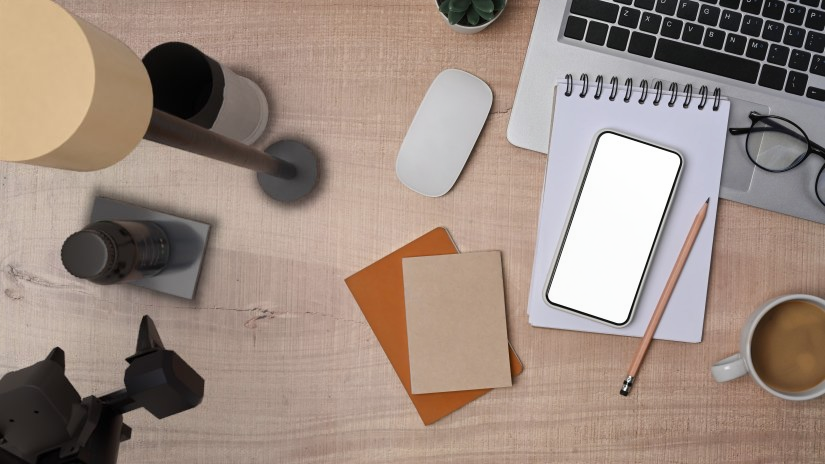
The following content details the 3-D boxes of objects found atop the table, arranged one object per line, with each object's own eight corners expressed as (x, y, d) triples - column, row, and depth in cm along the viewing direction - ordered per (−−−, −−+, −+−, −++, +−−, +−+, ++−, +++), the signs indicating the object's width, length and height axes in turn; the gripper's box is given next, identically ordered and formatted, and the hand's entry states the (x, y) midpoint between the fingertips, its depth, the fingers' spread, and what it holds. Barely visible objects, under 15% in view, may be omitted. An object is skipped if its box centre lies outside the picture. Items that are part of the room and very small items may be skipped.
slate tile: (193, 299, 71) (191, 300, 70) (80, 270, 72) (77, 270, 71) (211, 224, 71) (209, 224, 70) (98, 196, 71) (95, 196, 71)
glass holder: (264, 153, 70) (216, 134, 55) (145, 141, 71) (66, 119, 56) (272, 78, 70) (225, 38, 55) (152, 67, 71) (75, 25, 56)
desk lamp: (293, 214, 70) (19, 196, 25) (248, 174, 71) (-104, 84, 25) (332, 169, 70) (129, 67, 25) (287, 129, 70) (4, -46, 25)
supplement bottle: (119, 282, 71) (54, 294, 59) (110, 224, 71) (43, 224, 59) (176, 273, 70) (122, 283, 58) (167, 215, 70) (111, 213, 58)
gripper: (118, 407, 40) (144, 245, 51) (-133, 495, 41) (-54, 318, 52) (204, 471, 48) (210, 318, 59) (-9, 544, 49) (37, 380, 60)
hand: (103, 333), depth 58 cm, fingers open, 9 cm apart
